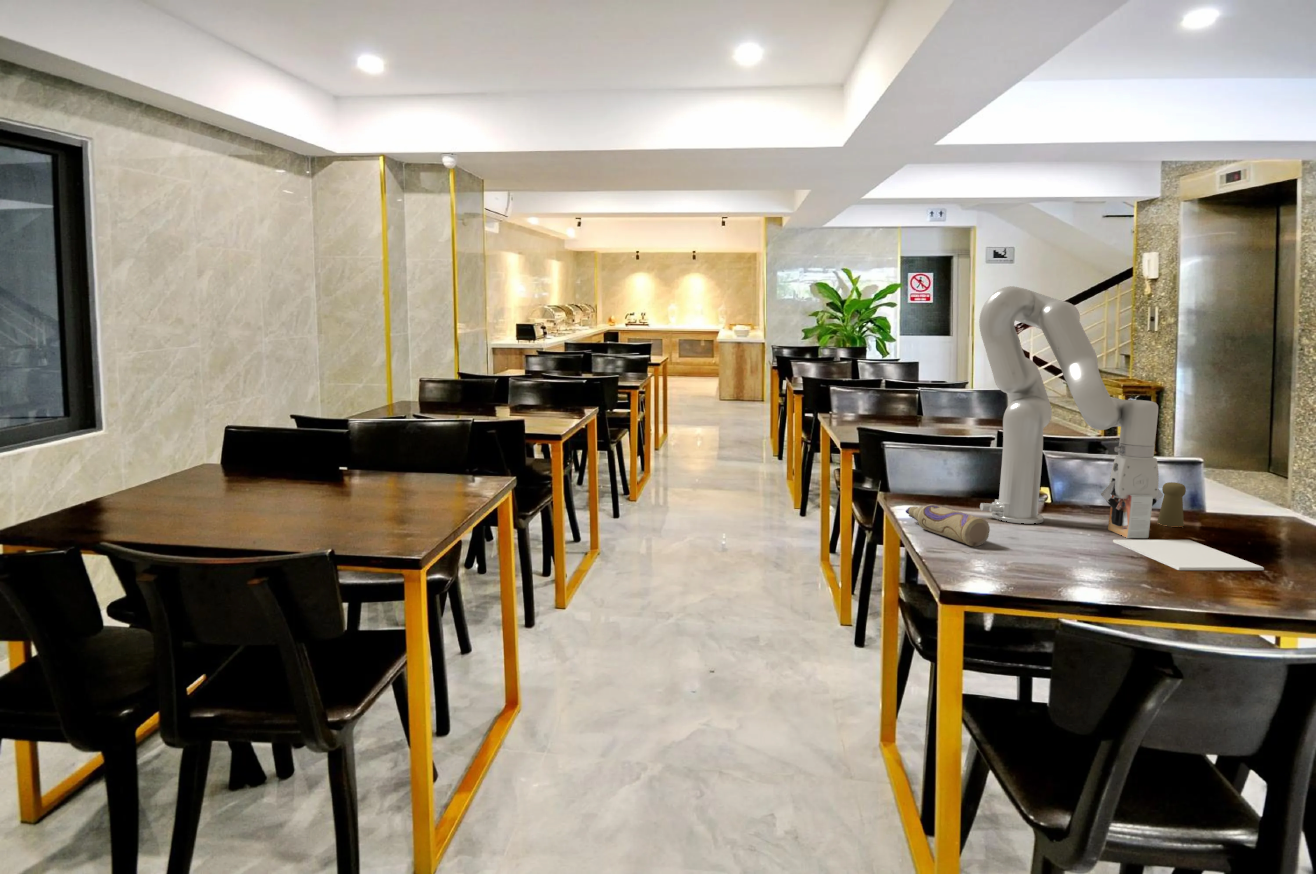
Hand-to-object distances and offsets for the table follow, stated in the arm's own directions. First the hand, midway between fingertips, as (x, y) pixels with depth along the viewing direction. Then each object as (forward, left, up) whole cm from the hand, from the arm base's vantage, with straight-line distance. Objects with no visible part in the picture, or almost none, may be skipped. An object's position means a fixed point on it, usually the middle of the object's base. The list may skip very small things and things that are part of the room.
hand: (1128, 524), depth 215 cm
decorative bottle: (-46, 0, -3) cm, 46 cm away
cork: (+18, +10, -3) cm, 21 cm away
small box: (0, 0, -3) cm, 3 cm away
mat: (+1, -19, -3) cm, 19 cm away
